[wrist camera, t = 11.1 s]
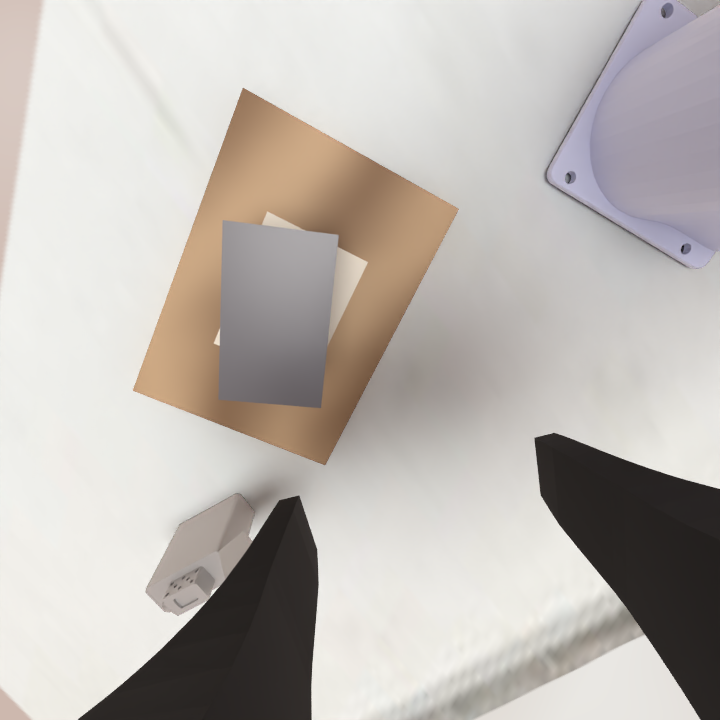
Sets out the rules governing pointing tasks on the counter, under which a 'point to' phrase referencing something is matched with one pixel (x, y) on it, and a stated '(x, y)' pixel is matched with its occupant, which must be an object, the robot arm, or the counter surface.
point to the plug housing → (275, 313)
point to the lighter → (202, 555)
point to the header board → (351, 281)
